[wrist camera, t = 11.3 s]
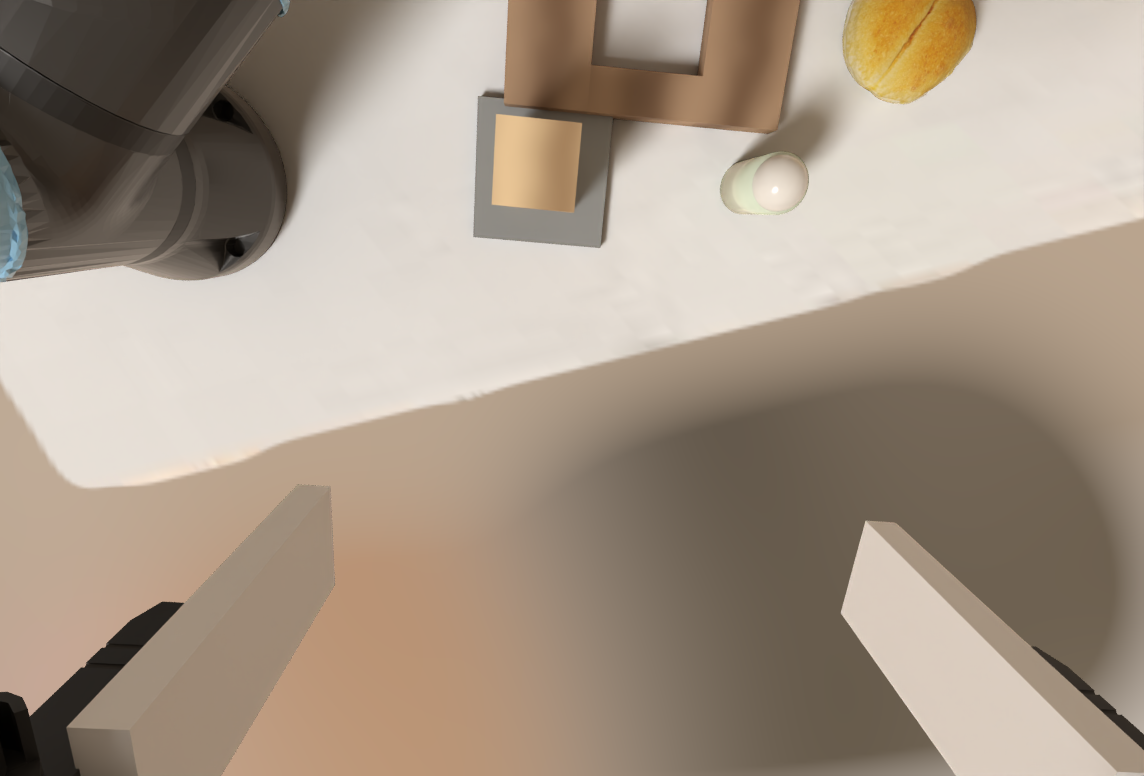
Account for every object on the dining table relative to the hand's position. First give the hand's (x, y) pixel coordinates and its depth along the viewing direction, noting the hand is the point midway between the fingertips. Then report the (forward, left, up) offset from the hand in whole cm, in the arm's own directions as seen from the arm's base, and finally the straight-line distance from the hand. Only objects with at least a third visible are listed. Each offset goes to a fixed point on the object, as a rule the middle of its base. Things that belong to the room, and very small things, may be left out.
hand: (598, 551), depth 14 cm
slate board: (-3, +11, -35) cm, 36 cm away
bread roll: (+23, +22, -35) cm, 47 cm away
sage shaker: (+13, +11, -35) cm, 39 cm away
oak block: (-3, +11, -34) cm, 36 cm away
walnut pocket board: (+4, +22, -35) cm, 41 cm away
